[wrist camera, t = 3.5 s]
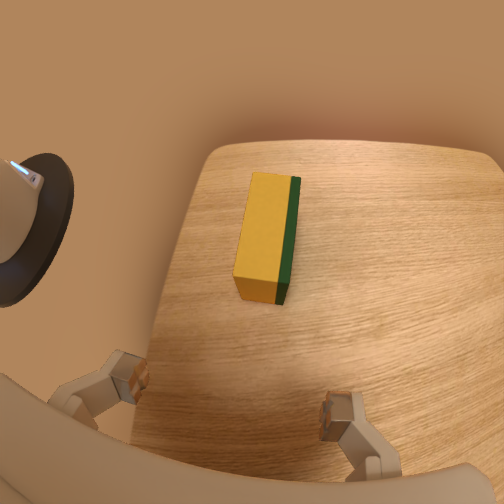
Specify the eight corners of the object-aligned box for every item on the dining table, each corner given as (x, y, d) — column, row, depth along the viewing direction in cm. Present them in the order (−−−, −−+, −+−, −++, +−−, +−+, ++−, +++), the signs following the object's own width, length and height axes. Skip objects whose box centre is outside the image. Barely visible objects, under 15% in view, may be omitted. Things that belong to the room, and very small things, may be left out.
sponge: (241, 299, 27) (232, 275, 20) (256, 216, 30) (252, 171, 23) (282, 305, 27) (289, 283, 19) (293, 221, 30) (301, 176, 22)
